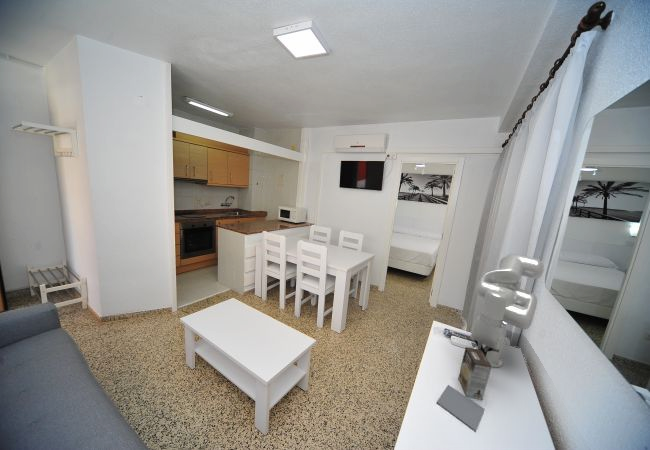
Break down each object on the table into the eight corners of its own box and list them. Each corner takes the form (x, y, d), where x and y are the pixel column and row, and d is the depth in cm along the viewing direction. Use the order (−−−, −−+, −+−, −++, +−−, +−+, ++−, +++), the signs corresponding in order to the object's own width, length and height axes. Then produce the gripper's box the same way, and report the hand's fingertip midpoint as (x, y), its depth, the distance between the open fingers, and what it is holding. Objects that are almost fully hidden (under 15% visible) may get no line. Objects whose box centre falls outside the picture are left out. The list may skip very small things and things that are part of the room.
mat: (447, 385, 94) (448, 384, 94) (484, 410, 85) (484, 408, 85) (436, 403, 86) (436, 401, 86) (475, 432, 77) (475, 430, 77)
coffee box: (457, 378, 99) (464, 346, 95) (473, 381, 97) (481, 349, 94) (465, 397, 90) (474, 362, 87) (483, 401, 89) (492, 366, 85)
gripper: (514, 325, 91) (503, 363, 95) (472, 308, 102) (464, 343, 105) (511, 332, 86) (500, 372, 90) (467, 313, 97) (459, 350, 100)
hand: (480, 356), depth 97 cm, fingers closed
